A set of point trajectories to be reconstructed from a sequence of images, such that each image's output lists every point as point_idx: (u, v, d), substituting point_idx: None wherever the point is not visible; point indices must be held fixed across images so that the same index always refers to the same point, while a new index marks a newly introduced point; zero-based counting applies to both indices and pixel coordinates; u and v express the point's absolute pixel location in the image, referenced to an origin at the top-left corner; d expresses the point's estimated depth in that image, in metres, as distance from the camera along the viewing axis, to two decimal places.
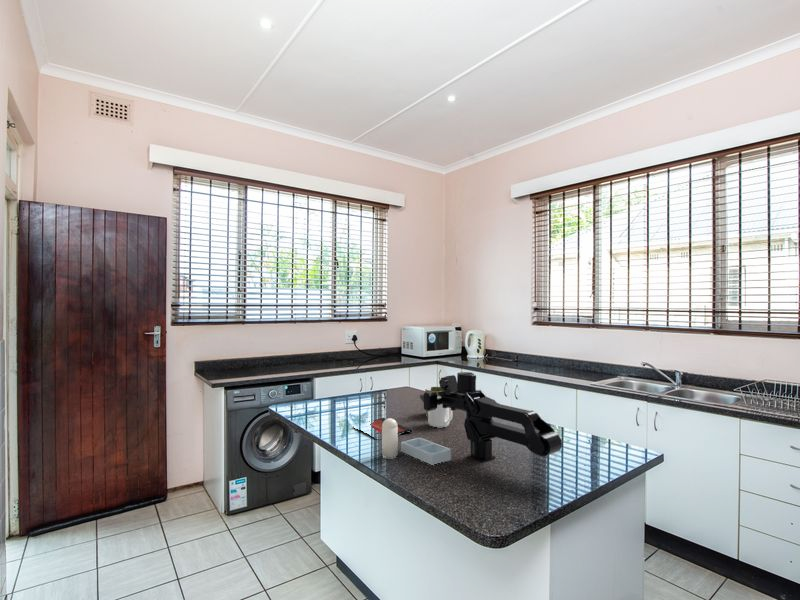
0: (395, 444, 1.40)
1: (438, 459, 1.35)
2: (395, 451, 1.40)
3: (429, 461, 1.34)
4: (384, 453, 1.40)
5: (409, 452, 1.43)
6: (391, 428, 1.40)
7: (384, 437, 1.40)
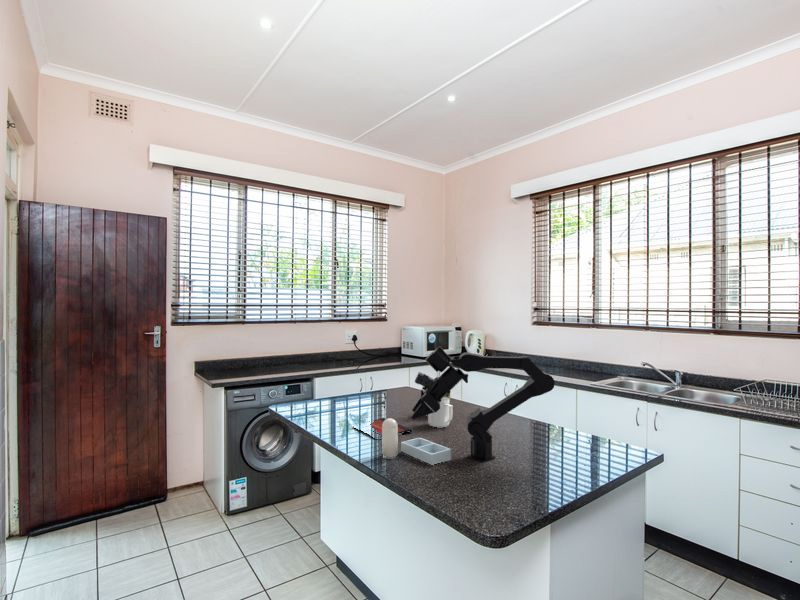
0: (395, 444, 1.40)
1: (438, 459, 1.35)
2: (395, 451, 1.40)
3: (429, 461, 1.34)
4: (384, 453, 1.40)
5: (409, 452, 1.43)
6: (391, 428, 1.40)
7: (384, 437, 1.40)
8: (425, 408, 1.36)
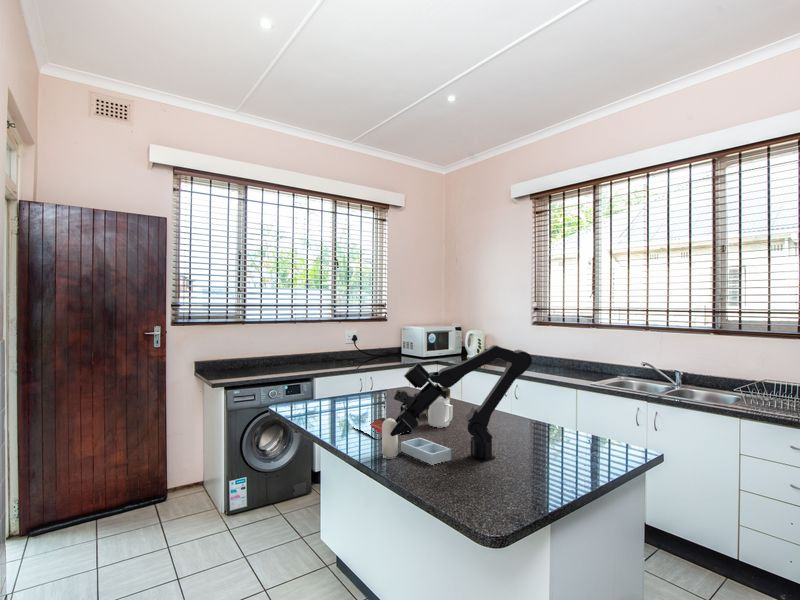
0: (395, 444, 1.40)
1: (438, 459, 1.35)
2: (395, 451, 1.40)
3: (429, 461, 1.34)
4: (384, 453, 1.40)
5: (409, 452, 1.43)
6: (391, 428, 1.40)
7: (384, 437, 1.40)
8: (404, 425, 1.36)
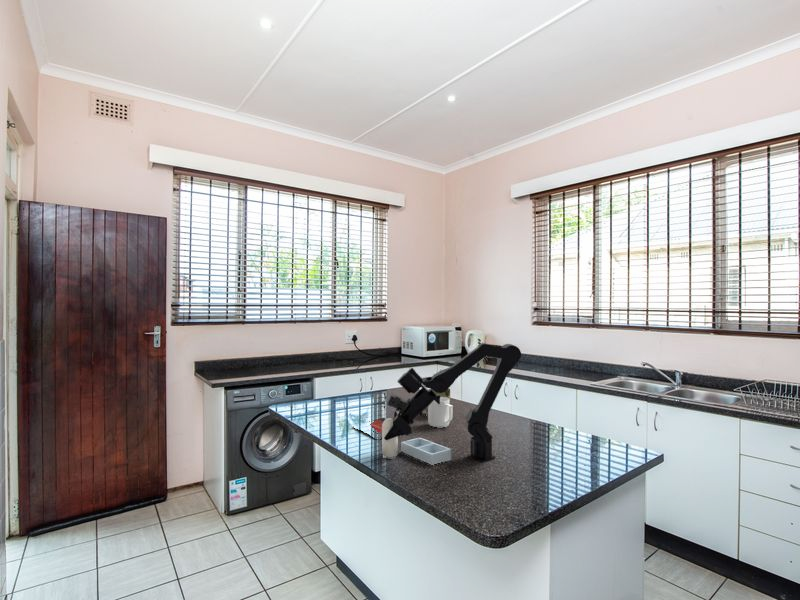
0: (395, 444, 1.40)
1: (438, 459, 1.35)
2: (395, 451, 1.40)
3: (429, 461, 1.34)
4: (384, 453, 1.40)
5: (409, 452, 1.43)
6: None
7: None
8: (397, 429, 1.38)
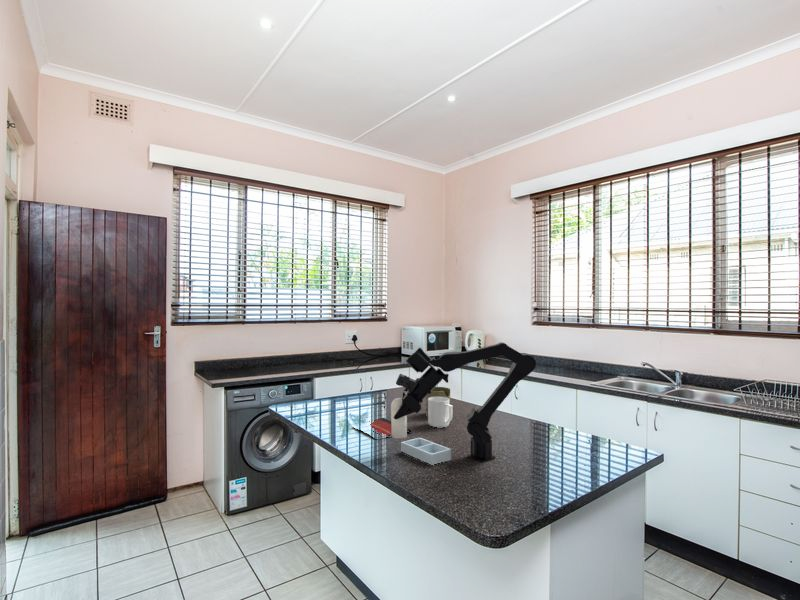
0: (404, 423, 1.41)
1: (438, 459, 1.35)
2: (404, 430, 1.41)
3: (429, 461, 1.34)
4: (393, 432, 1.41)
5: (409, 452, 1.43)
6: None
7: (393, 417, 1.41)
8: (407, 408, 1.39)
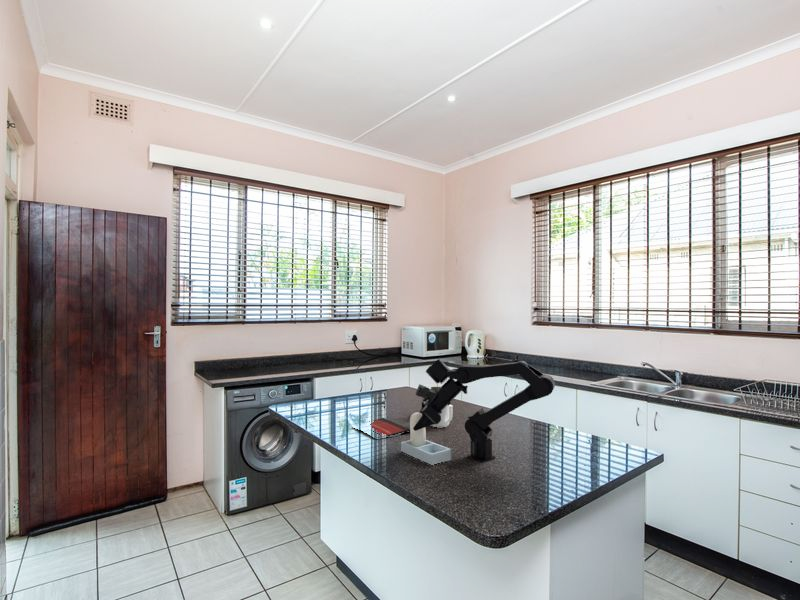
0: (423, 437, 1.44)
1: (438, 459, 1.35)
2: (423, 444, 1.44)
3: (429, 461, 1.34)
4: None
5: (409, 452, 1.43)
6: None
7: (412, 431, 1.44)
8: (426, 420, 1.40)
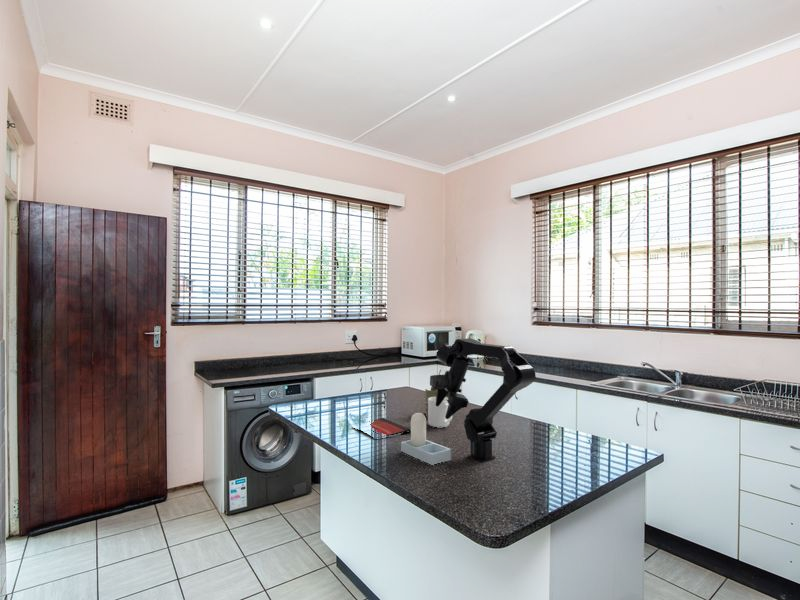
0: (424, 438, 1.43)
1: (438, 459, 1.35)
2: None
3: (429, 461, 1.34)
4: None
5: (409, 452, 1.43)
6: (420, 422, 1.43)
7: (413, 431, 1.43)
8: (454, 406, 1.46)
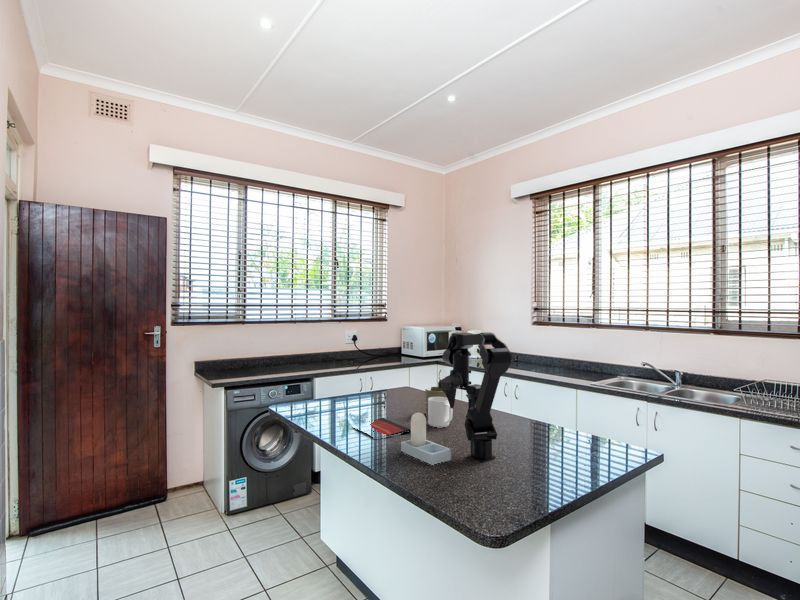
0: (424, 438, 1.44)
1: (438, 459, 1.35)
2: None
3: (429, 461, 1.34)
4: None
5: (409, 452, 1.43)
6: (420, 422, 1.43)
7: (413, 431, 1.43)
8: (473, 397, 1.51)
